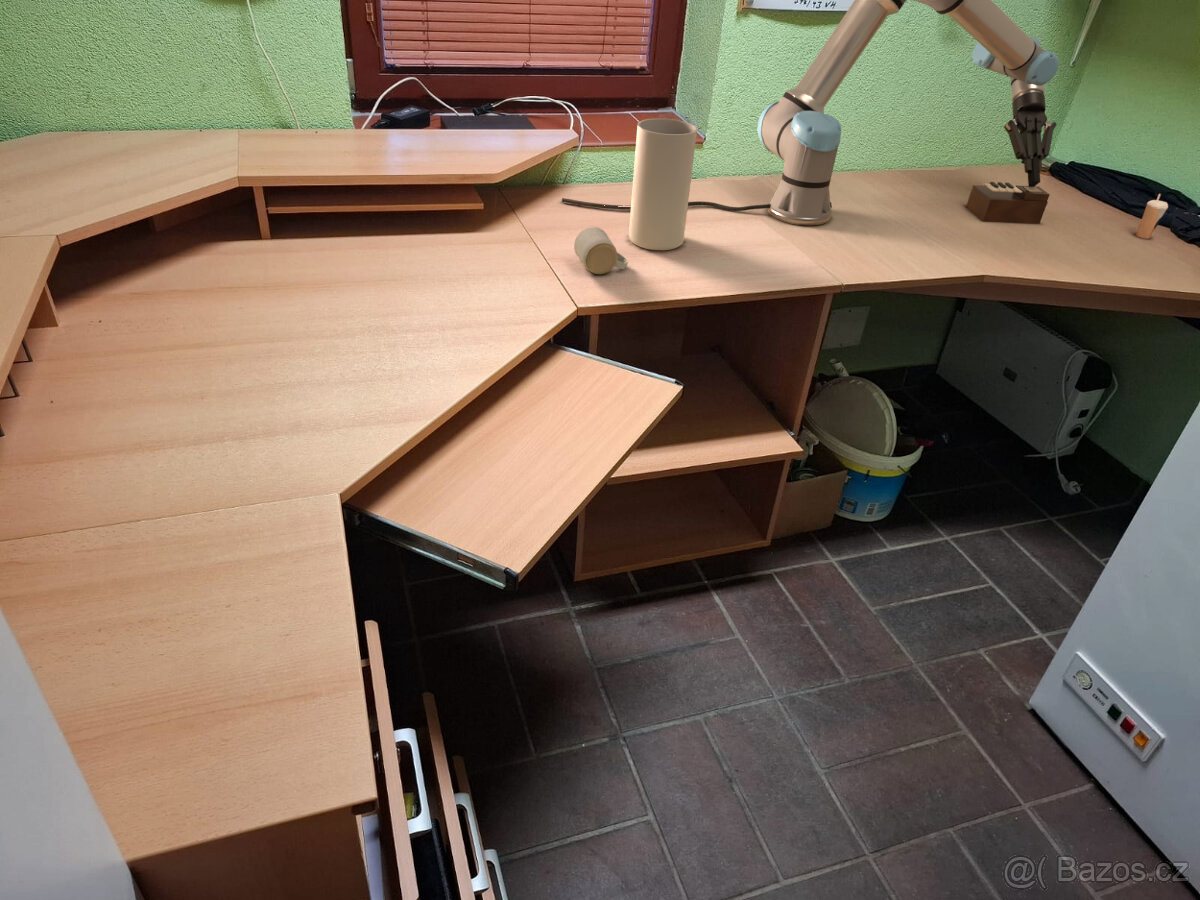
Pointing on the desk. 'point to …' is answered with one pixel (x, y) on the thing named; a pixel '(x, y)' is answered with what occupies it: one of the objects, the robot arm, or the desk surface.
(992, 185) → the keyboard
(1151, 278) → the desk surface
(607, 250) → the ceramic mug
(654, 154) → the cylinder vase
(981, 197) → the piano
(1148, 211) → the milkshake
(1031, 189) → the key
